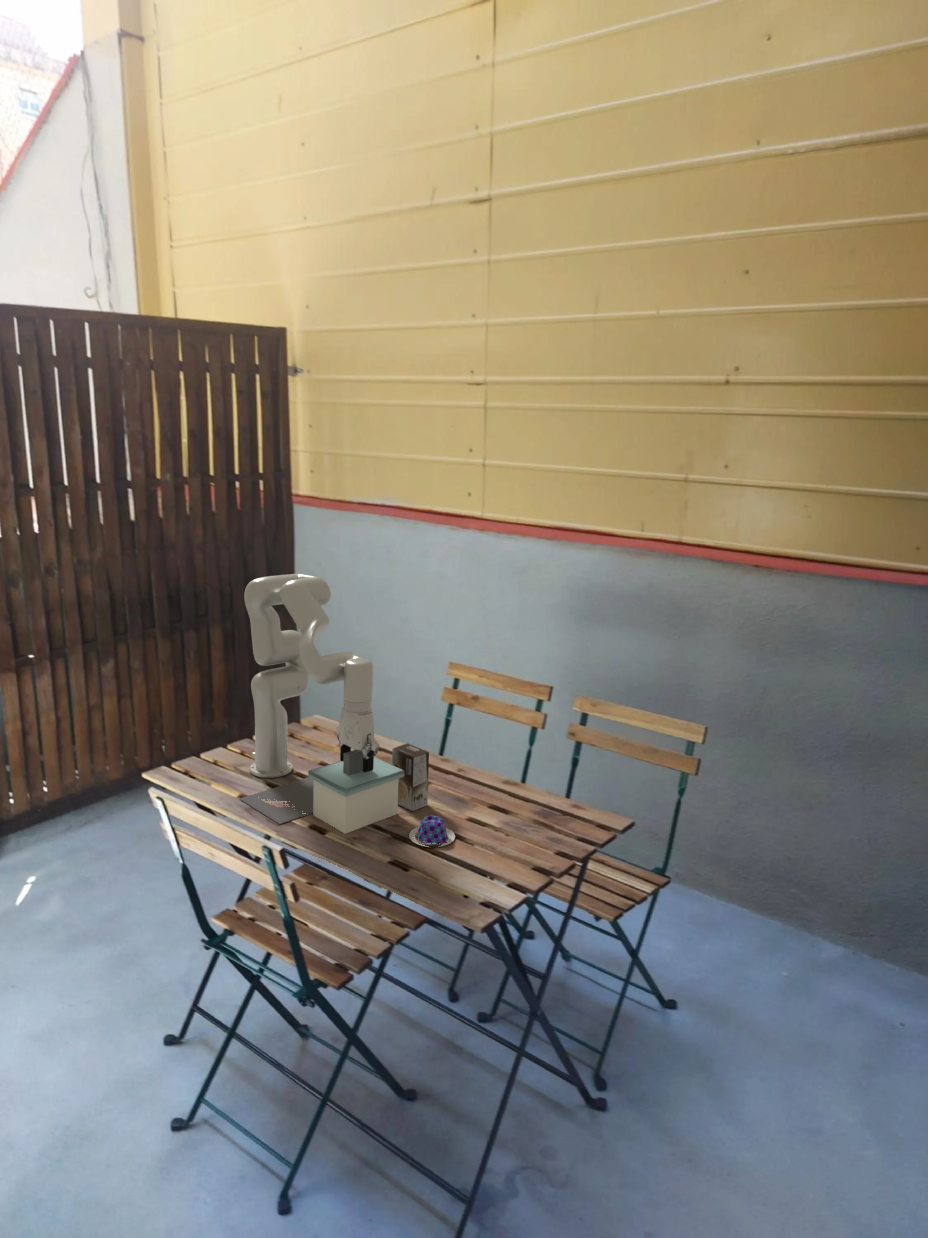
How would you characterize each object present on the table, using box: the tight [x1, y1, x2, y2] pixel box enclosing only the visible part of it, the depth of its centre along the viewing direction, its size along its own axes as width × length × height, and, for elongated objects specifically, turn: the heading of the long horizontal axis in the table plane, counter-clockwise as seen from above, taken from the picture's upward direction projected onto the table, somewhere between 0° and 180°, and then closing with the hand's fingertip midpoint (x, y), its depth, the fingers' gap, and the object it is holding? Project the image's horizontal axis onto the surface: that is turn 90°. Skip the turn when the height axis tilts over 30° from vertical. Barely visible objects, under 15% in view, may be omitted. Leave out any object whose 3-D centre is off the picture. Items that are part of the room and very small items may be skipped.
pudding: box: [408, 815, 456, 848], centre depth 215 cm, size 12×12×5 cm
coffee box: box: [391, 743, 430, 812], centre depth 233 cm, size 9×6×16 cm
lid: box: [307, 749, 404, 797], centre depth 223 cm, size 16×20×7 cm
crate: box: [312, 779, 399, 835], centre depth 225 cm, size 14×18×12 cm
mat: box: [239, 777, 314, 826], centre depth 234 cm, size 20×24×1 cm
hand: (356, 765), depth 223 cm, fingers open, 9 cm apart
